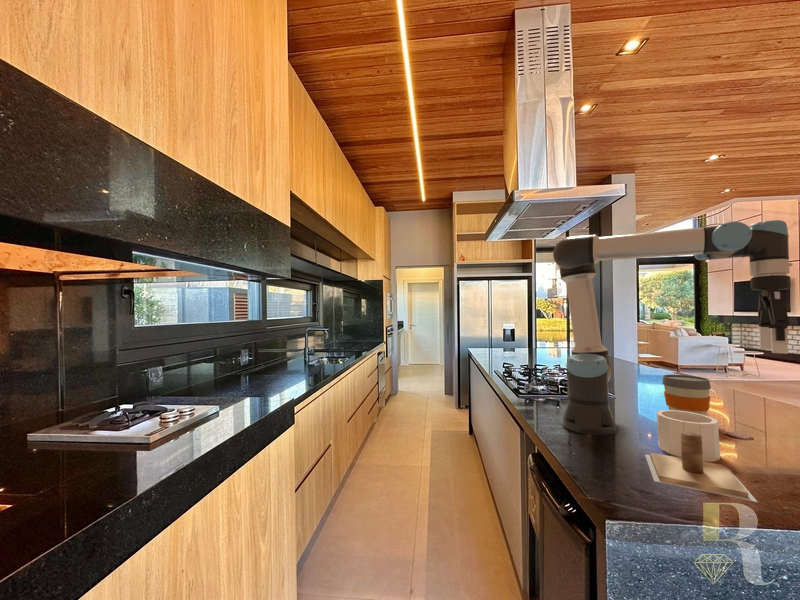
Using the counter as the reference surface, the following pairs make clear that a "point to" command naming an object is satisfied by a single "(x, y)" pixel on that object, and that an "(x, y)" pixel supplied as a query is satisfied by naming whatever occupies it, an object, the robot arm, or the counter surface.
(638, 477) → the counter surface
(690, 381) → the reusable coffee cup
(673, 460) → the oak cover
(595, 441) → the counter surface
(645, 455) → the grey mat
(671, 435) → the ceramic bowl
